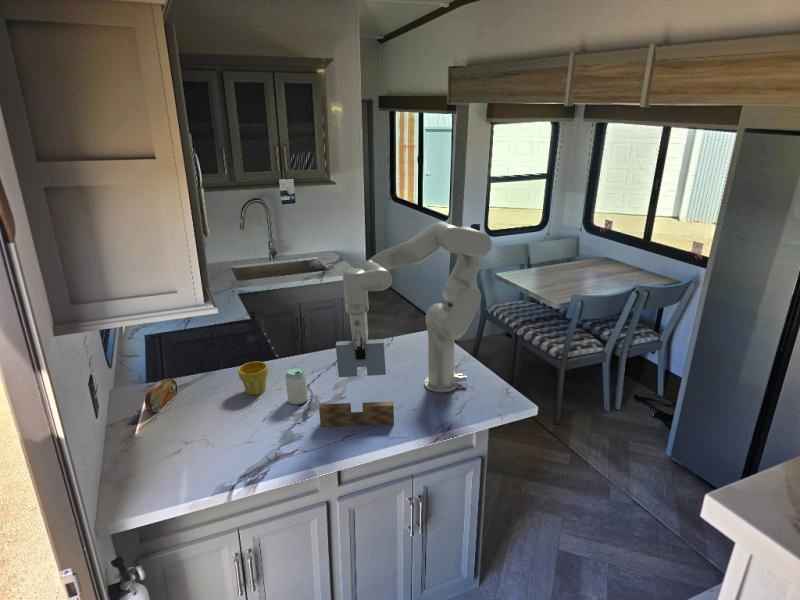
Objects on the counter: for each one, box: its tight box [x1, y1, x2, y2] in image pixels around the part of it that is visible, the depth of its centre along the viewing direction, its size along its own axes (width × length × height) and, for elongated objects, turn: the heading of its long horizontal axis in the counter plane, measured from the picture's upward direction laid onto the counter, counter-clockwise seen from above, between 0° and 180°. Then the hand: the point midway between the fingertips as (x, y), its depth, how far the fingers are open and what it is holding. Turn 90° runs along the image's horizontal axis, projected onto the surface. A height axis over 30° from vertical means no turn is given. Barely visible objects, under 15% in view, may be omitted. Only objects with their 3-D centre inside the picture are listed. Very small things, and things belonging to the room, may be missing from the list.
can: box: [285, 366, 309, 405], centre depth 185 cm, size 7×7×12 cm
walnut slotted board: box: [318, 401, 395, 428], centre depth 171 cm, size 24×2×7 cm, turn 91°
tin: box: [144, 378, 178, 413], centre depth 185 cm, size 15×3×8 cm, turn 168°
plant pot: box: [237, 360, 269, 396], centre depth 193 cm, size 10×10×10 cm
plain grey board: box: [335, 338, 387, 378], centre depth 178 cm, size 16×3×12 cm, turn 91°
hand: (361, 356), depth 177 cm, fingers closed on plain grey board, 3 cm apart
